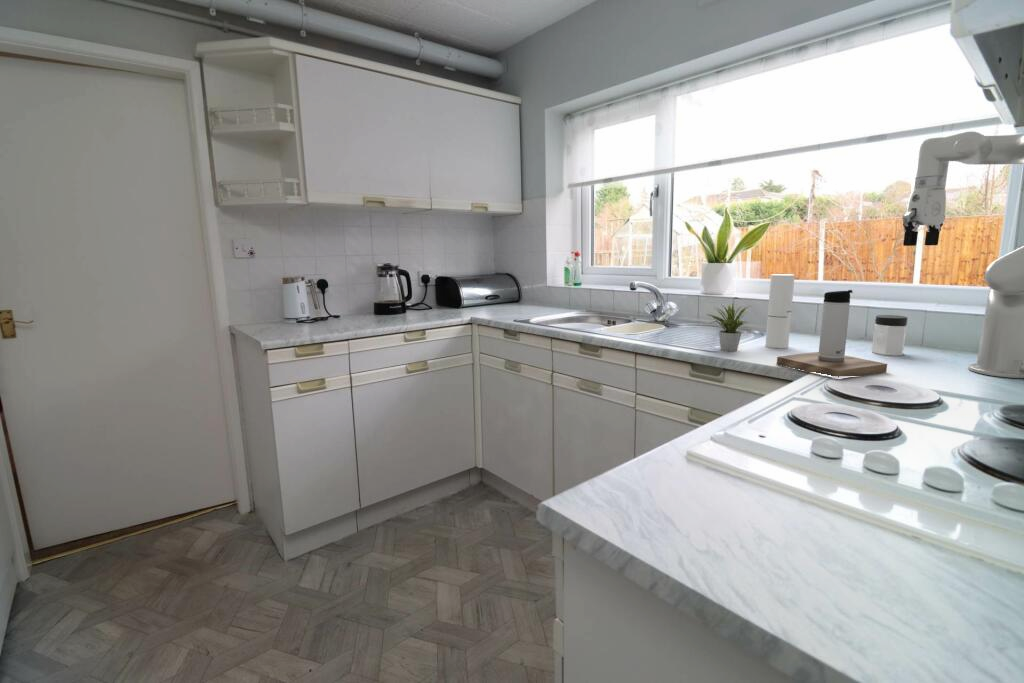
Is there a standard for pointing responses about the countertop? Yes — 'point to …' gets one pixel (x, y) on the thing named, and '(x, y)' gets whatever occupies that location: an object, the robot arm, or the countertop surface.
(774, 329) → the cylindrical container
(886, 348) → the jar
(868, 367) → the walnut board
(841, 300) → the travel mug
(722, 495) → the countertop surface
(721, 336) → the house plant
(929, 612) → the countertop surface
